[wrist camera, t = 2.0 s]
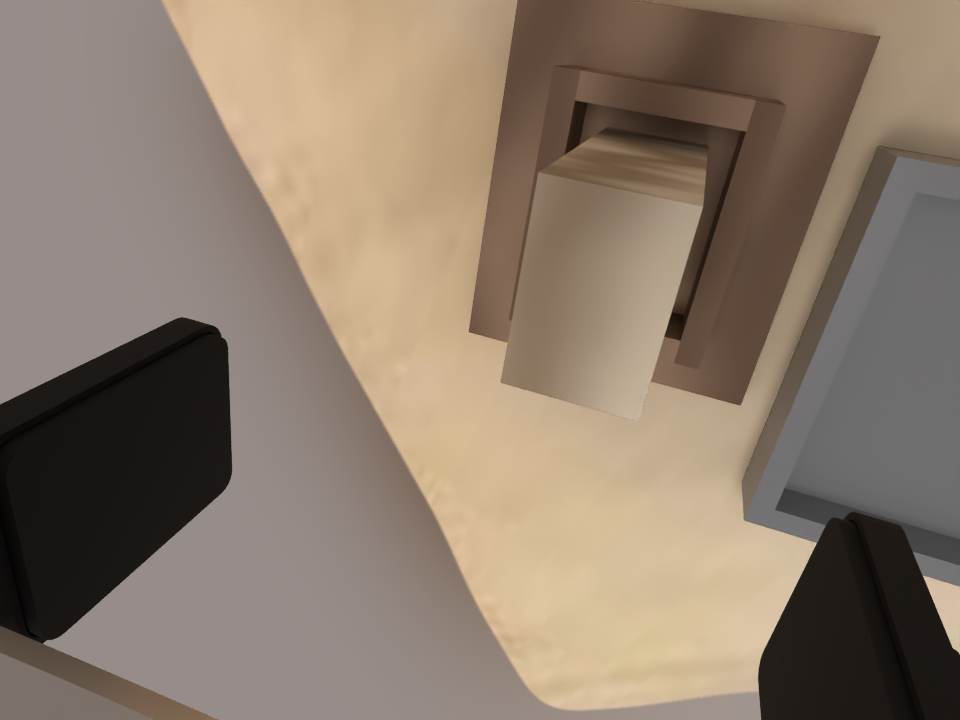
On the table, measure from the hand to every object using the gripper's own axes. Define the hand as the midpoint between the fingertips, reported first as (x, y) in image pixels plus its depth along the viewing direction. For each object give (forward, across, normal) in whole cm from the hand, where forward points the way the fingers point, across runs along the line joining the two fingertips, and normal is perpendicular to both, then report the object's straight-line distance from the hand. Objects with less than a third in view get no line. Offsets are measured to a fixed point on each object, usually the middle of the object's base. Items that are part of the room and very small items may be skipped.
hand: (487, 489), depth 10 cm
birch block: (+20, 0, 0) cm, 20 cm away
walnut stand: (+21, 0, 0) cm, 21 cm away
